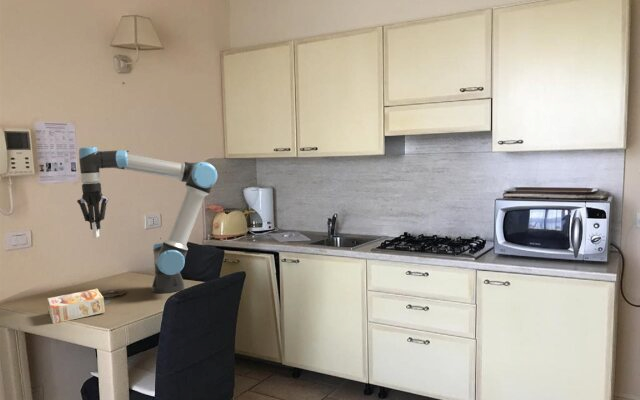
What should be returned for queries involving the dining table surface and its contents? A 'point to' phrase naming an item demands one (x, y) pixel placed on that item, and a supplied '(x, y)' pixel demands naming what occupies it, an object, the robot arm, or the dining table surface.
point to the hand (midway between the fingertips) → (96, 236)
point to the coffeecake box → (75, 305)
